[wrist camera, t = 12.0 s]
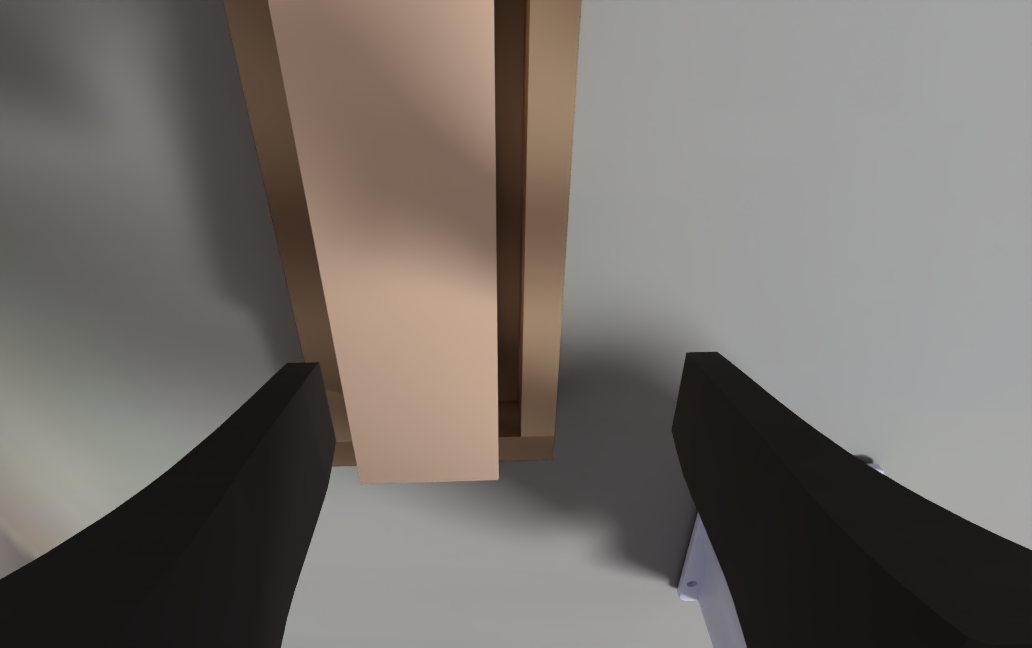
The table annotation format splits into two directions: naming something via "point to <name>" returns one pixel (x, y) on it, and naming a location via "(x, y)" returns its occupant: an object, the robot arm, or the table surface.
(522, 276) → the wooden tray
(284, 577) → the robot arm
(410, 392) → the tan rectangular block
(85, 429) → the table surface
